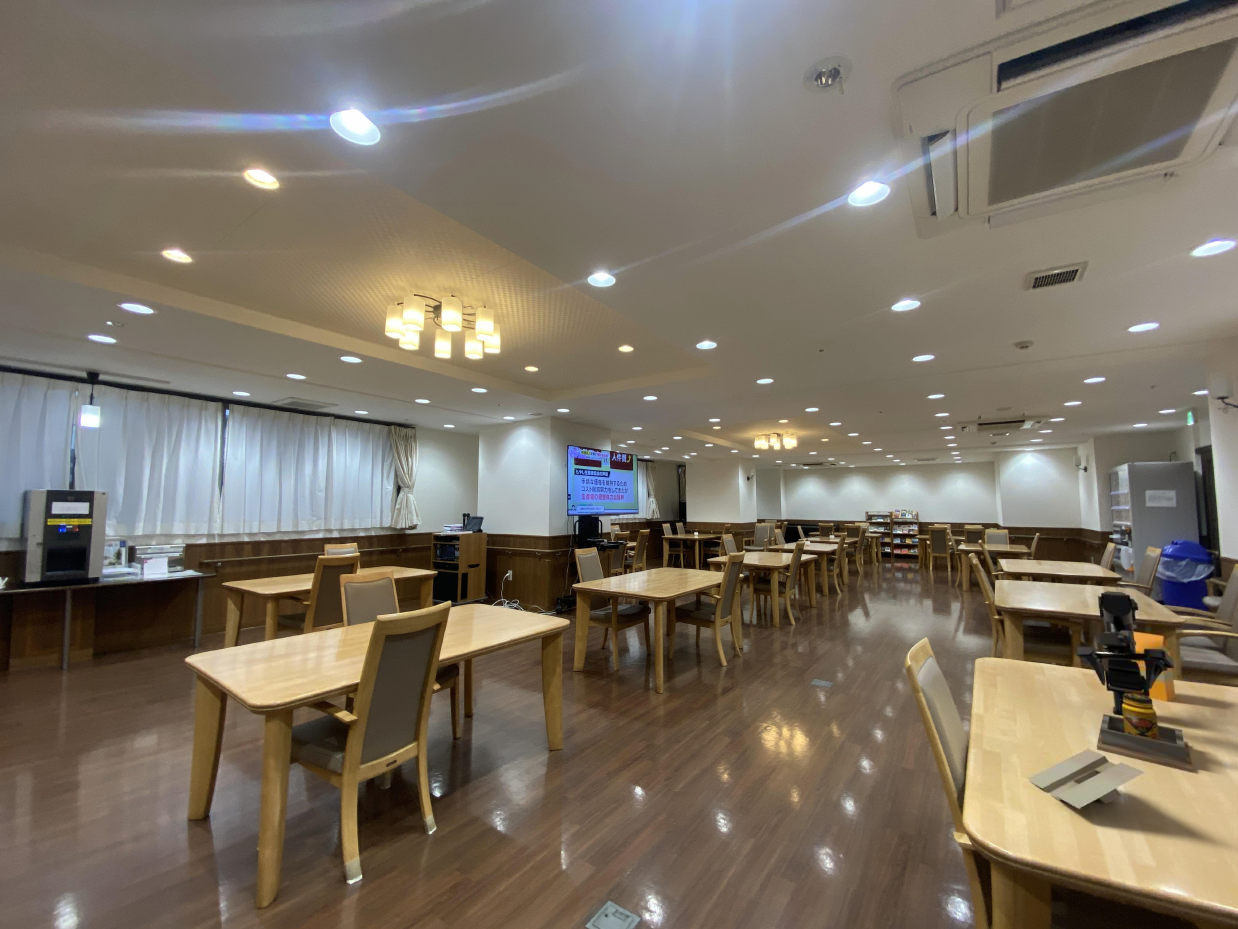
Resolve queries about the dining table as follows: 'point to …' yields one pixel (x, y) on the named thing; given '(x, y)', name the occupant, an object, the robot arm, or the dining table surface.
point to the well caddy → (1145, 744)
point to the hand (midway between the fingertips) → (1125, 686)
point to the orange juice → (1164, 681)
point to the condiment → (1139, 716)
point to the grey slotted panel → (1085, 779)
